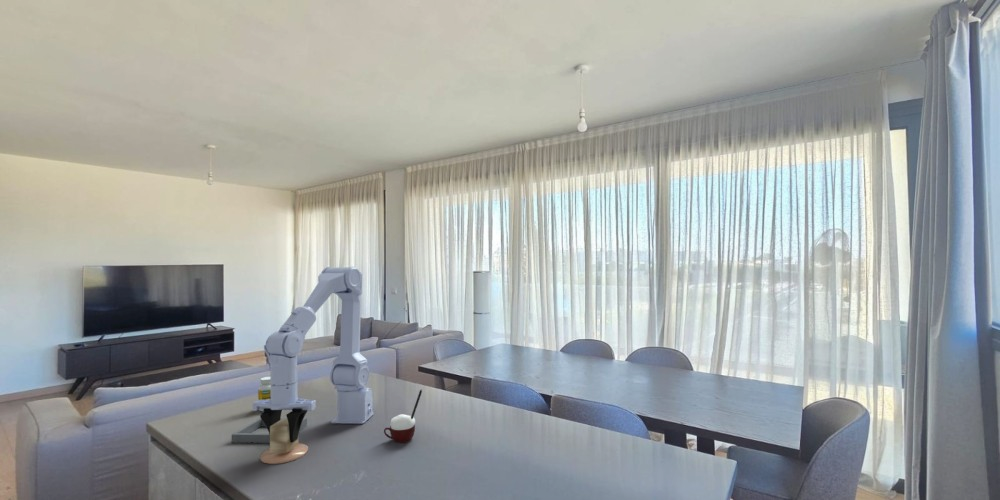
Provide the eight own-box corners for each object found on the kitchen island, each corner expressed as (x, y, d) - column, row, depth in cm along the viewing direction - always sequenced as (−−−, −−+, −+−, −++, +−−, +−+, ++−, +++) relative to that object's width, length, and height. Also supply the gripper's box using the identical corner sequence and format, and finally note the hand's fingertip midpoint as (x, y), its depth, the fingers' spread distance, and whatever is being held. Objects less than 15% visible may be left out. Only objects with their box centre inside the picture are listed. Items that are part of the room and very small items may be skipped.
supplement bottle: (276, 404, 139) (276, 374, 139) (278, 409, 134) (278, 378, 135) (257, 408, 136) (257, 377, 136) (259, 413, 131) (258, 381, 132)
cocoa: (382, 445, 107) (378, 397, 107) (393, 434, 113) (389, 388, 113) (418, 446, 105) (414, 397, 105) (427, 434, 111) (424, 388, 111)
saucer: (315, 445, 107) (315, 443, 107) (293, 464, 97) (293, 462, 97) (277, 445, 108) (277, 442, 108) (250, 463, 98) (250, 461, 98)
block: (298, 443, 105) (298, 418, 105) (286, 453, 100) (286, 426, 100) (282, 443, 105) (282, 418, 105) (270, 452, 100) (269, 426, 100)
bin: (307, 425, 120) (306, 418, 120) (282, 443, 109) (282, 434, 109) (260, 425, 121) (260, 417, 121) (231, 442, 110) (231, 434, 110)
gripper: (243, 387, 99) (244, 447, 99) (304, 387, 98) (305, 448, 98) (263, 379, 106) (263, 435, 106) (319, 379, 105) (320, 435, 105)
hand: (284, 440), depth 102 cm, fingers closed on block, 4 cm apart
